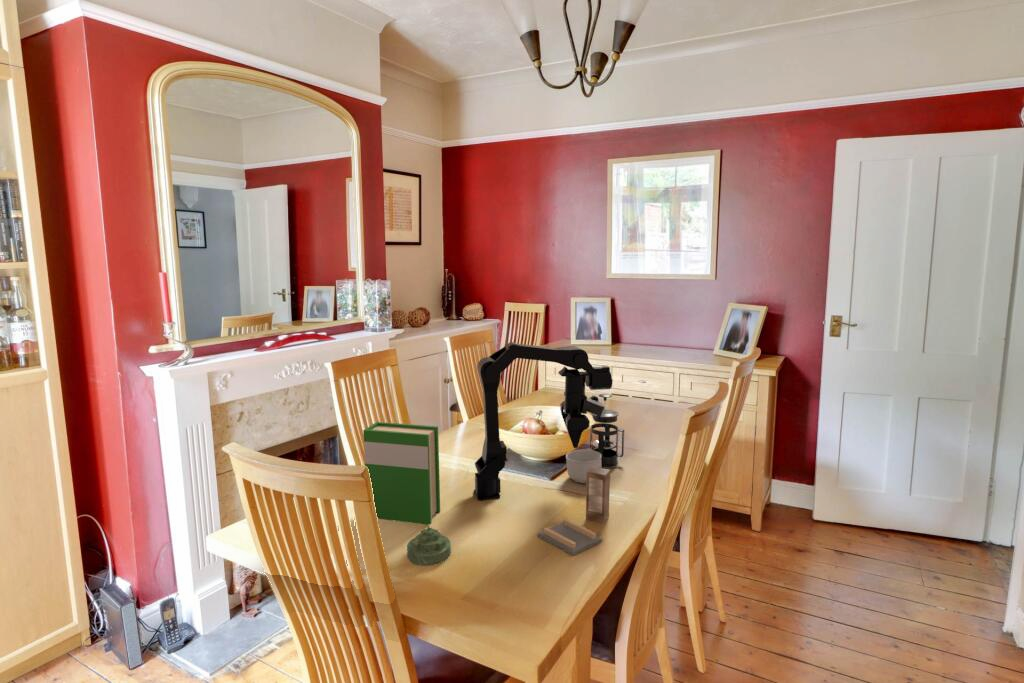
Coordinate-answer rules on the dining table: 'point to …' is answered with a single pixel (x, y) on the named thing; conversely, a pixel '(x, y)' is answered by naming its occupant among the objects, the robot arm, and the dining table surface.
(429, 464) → the hardback book
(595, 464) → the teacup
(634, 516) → the dining table surface
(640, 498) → the dining table surface
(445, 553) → the decorative artifact
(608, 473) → the wooden block
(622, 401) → the dining table surface
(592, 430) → the french press
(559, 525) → the grey stand base
